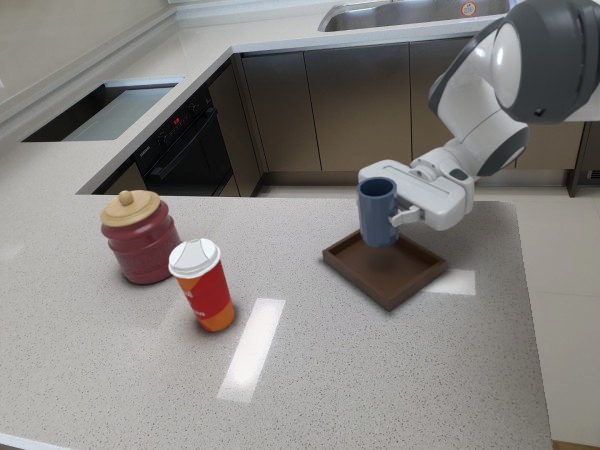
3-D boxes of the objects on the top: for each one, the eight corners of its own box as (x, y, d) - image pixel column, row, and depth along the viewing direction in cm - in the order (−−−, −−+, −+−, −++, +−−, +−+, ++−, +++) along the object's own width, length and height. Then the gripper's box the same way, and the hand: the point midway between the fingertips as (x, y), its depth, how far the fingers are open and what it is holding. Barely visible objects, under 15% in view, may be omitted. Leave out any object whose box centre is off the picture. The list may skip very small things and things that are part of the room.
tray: (446, 271, 80) (446, 260, 78) (388, 311, 74) (388, 301, 73) (377, 228, 92) (376, 218, 91) (323, 260, 87) (321, 250, 86)
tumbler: (406, 235, 78) (405, 186, 72) (378, 253, 76) (375, 203, 70) (380, 219, 83) (377, 172, 77) (353, 236, 80) (348, 188, 75)
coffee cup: (196, 305, 83) (169, 241, 74) (241, 297, 83) (219, 231, 74) (192, 342, 76) (162, 276, 67) (241, 332, 76) (217, 265, 67)
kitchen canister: (180, 236, 101) (152, 166, 91) (193, 269, 91) (163, 195, 81) (121, 258, 98) (86, 188, 88) (128, 295, 88) (88, 221, 78)
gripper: (390, 144, 87) (333, 174, 81) (482, 183, 72) (420, 222, 67) (391, 173, 90) (337, 203, 85) (479, 215, 76) (420, 255, 71)
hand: (374, 212), depth 76 cm, fingers closed on tumbler, 6 cm apart
